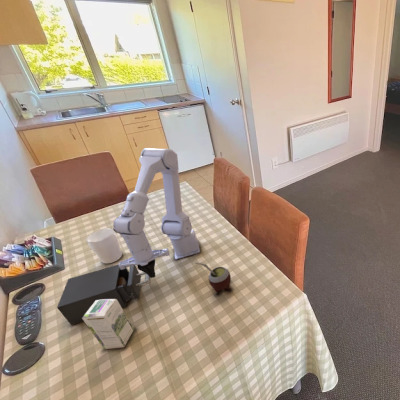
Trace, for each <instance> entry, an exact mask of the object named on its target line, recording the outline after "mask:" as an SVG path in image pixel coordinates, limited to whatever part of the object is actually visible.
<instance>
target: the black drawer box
mask: <svg viewBox="0 0 400 400" xmlns="http://www.w3.org/2000/svg"><path fill="white" fill-rule="evenodd" d="M119 272H120V267H119V263H118V264H115V265H111V266H108V267H105V268H101V269H97V270H94V271H90V272H87V273H83V274H80V275H76V276H74V277H71V278H68V279H67V281H66V284H65V287H64V288H63V290H62V294H61V296H60V298H59V301H58V304H57V306H56V308H57V309H58V311H59V312H60V314H61V315H62V316H63V317H64V318H65V320H66V321H67V322H68V323H69V324H70V326H74V325H77V324H79V323H82V322H84V320H83V319H82V317H83V316H84V315H85V314H86V312H87V311H88V310H89V308H90V307H91V306H92V305H93V303H94V302H95V301H96V300H102V299H117V301H118V302H119V304H120V306H121V308H122V309H123V308H126V306H127V301H123V299H122V297H121V296H120V294H119V292H118V291H117V283H118V278H119Z"/></svg>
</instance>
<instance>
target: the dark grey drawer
mask: <svg viewBox="0 0 400 400" xmlns="http://www.w3.org/2000/svg"><path fill="white" fill-rule="evenodd" d="M143 275H144V281H141V280H142V276H143ZM121 277H124V279H125V281H126V283H127V291H126V289H125V287H124V286H123V285H122V286H118V287H117V291H118V292H119V294H120V296H121V297H122V299H123V301H126V302H127V301H129V300H131V297H133V299H134V300H139V299H140V291H141V285H149V284H151V279H152V278H151V277H150V276H149V275H147V274H146V273H145V272H143V271H142V272H140V271H139V270H138V267H137V265H132V266H129V270H128V267H125V269H122V270H121V269H120V272H119V278H121Z"/></svg>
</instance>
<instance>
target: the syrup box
mask: <svg viewBox="0 0 400 400" xmlns="http://www.w3.org/2000/svg"><path fill="white" fill-rule="evenodd" d="M82 319H83V320H84V321H83V322H84V323H85V324H86V326H87V328H88V329H89V330H90V331H91V333H92V334H93V336H94V337H95V338H96V340H97V342H99V344H100V346H101V347H102V348H103V349H104V350H109V349H119V348H120V349H121V348H125V347H126V345H127V343H128V342H129V340H130V338H131V337H132V334H133V333H134V331H135V328H134V327H133V325H132V323H131V321H130V320H129V318H128V316H127V315H126V312H125V311H124V309H123V308H121V306H120V304H119V302H118V301H117V299H102V300H96V301H95V302H94V303H93V305H92V306H91V307H90V308H89V310H88V311H87V312H86V314H85V315H84V316H83V317H82Z"/></svg>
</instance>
